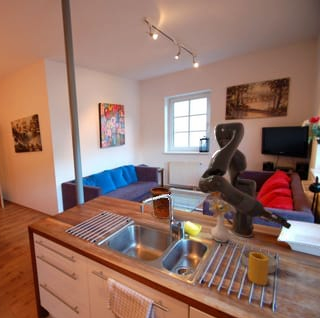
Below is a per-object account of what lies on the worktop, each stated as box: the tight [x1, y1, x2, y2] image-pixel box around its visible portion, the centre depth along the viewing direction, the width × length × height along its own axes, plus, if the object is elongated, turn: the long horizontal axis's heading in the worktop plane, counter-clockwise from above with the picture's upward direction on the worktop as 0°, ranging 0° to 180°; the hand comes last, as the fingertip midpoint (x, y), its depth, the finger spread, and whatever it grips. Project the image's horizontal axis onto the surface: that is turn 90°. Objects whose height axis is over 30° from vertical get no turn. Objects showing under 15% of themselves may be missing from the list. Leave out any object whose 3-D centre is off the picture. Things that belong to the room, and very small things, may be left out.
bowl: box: [241, 248, 278, 274], centre depth 93 cm, size 12×12×4 cm
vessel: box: [150, 186, 172, 219], centre depth 151 cm, size 14×14×20 cm
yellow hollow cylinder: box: [247, 252, 269, 286], centre depth 84 cm, size 6×6×11 cm
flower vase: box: [208, 196, 236, 243], centre depth 113 cm, size 13×18×25 cm
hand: (278, 223), depth 84 cm, fingers open, 8 cm apart
